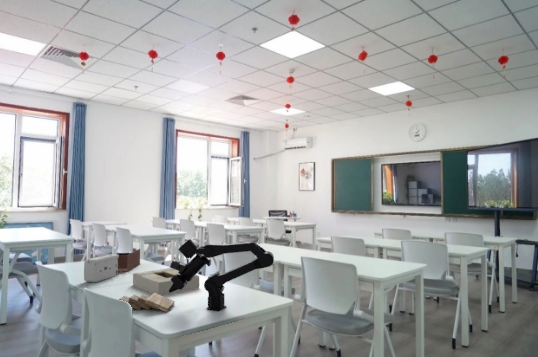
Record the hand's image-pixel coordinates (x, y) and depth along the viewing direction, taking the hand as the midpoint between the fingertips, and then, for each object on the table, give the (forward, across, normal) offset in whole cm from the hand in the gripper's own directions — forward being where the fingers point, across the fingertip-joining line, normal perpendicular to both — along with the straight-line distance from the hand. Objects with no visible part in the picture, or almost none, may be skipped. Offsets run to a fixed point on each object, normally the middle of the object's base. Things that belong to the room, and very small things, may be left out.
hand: (169, 291), depth 158 cm
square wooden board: (+4, 0, +5) cm, 6 cm away
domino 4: (+7, 0, +2) cm, 7 cm away
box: (+15, -39, -4) cm, 42 cm away
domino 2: (+16, 0, -6) cm, 17 cm away
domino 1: (+13, 0, -4) cm, 13 cm away
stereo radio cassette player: (+46, -57, -36) cm, 82 cm away
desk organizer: (+45, -91, -34) cm, 107 cm away
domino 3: (+10, 0, -1) cm, 10 cm away
